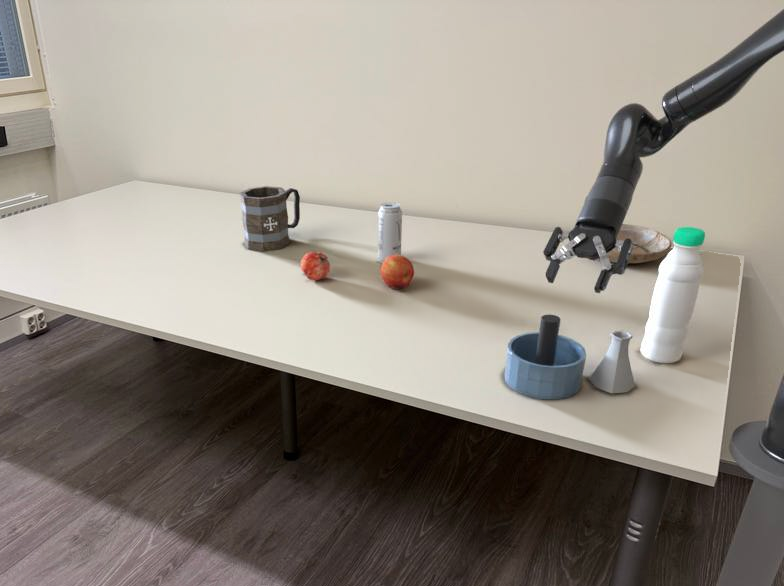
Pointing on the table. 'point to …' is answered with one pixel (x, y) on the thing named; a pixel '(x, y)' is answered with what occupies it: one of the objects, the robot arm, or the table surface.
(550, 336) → the chopping blade
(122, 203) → the table surface
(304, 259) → the pomegranate
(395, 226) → the energy drink can
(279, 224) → the mug
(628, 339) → the flask
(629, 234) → the ceramic bowl
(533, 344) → the processor bowl
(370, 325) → the table surface
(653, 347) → the water bottle
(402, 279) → the apple
